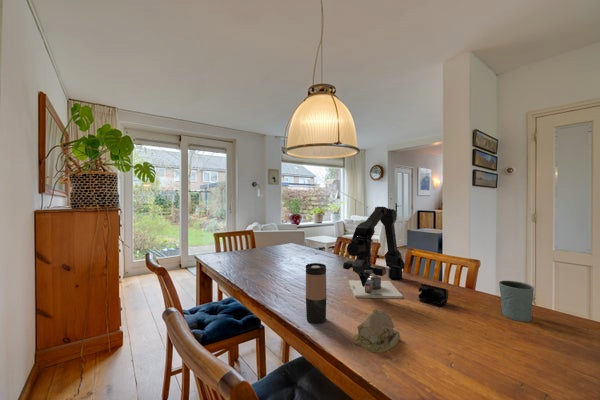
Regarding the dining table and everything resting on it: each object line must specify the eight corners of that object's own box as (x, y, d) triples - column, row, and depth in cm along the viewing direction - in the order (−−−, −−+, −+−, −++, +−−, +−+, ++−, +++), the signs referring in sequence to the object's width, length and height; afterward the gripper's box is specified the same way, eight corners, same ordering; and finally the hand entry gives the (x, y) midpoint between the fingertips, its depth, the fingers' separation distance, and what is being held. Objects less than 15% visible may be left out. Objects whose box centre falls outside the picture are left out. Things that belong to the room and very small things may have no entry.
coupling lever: (367, 283, 131) (367, 273, 131) (382, 285, 128) (382, 275, 128) (359, 294, 117) (359, 282, 117) (375, 296, 114) (375, 285, 114)
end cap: (448, 303, 110) (448, 287, 110) (442, 308, 105) (442, 291, 105) (424, 296, 117) (424, 281, 117) (417, 301, 112) (417, 285, 112)
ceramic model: (373, 357, 73) (373, 322, 73) (347, 339, 83) (347, 307, 83) (406, 343, 80) (406, 311, 80) (378, 327, 90) (378, 299, 90)
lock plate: (389, 282, 136) (389, 280, 136) (402, 298, 115) (402, 295, 115) (348, 282, 137) (348, 279, 137) (355, 297, 116) (355, 294, 116)
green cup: (525, 325, 91) (525, 290, 91) (493, 313, 100) (493, 282, 100) (539, 318, 95) (539, 286, 95) (506, 308, 104) (507, 278, 104)
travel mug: (328, 316, 98) (328, 263, 98) (323, 326, 91) (323, 269, 91) (309, 313, 101) (308, 262, 100) (303, 322, 93) (302, 267, 93)
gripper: (337, 252, 117) (337, 286, 117) (378, 259, 106) (377, 297, 106) (348, 248, 126) (348, 280, 126) (387, 254, 115) (386, 289, 115)
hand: (363, 286), depth 118 cm, fingers closed
